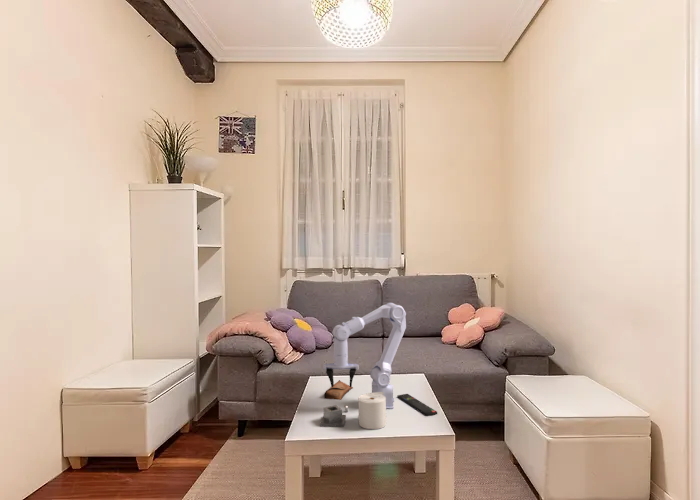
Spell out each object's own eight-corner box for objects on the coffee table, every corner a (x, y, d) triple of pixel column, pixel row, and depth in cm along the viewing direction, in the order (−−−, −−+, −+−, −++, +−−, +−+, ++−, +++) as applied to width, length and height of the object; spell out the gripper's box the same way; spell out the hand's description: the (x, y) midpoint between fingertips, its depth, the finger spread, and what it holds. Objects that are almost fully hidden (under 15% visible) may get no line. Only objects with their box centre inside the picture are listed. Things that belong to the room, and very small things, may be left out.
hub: (346, 417, 170) (345, 408, 170) (343, 426, 161) (343, 417, 161) (323, 416, 171) (323, 408, 170) (320, 426, 162) (320, 417, 162)
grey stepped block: (336, 414, 170) (336, 404, 170) (342, 419, 165) (342, 409, 165) (323, 417, 167) (323, 407, 167) (329, 422, 162) (328, 412, 162)
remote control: (407, 396, 193) (407, 393, 193) (438, 415, 171) (438, 412, 171) (397, 398, 191) (397, 395, 191) (427, 418, 169) (427, 414, 169)
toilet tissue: (358, 429, 158) (358, 403, 158) (358, 416, 170) (358, 391, 170) (387, 429, 158) (386, 403, 158) (385, 416, 170) (385, 391, 170)
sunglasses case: (341, 400, 188) (334, 386, 189) (329, 406, 190) (321, 393, 191) (354, 387, 205) (347, 374, 206) (342, 393, 207) (335, 381, 208)
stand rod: (348, 411, 176) (347, 405, 176) (347, 412, 174) (347, 406, 174) (344, 411, 176) (344, 405, 176) (344, 412, 175) (344, 406, 175)
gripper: (358, 351, 180) (359, 383, 181) (325, 351, 182) (325, 383, 182) (357, 356, 173) (358, 389, 174) (322, 355, 175) (323, 388, 175)
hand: (341, 386), depth 177 cm, fingers open, 7 cm apart
